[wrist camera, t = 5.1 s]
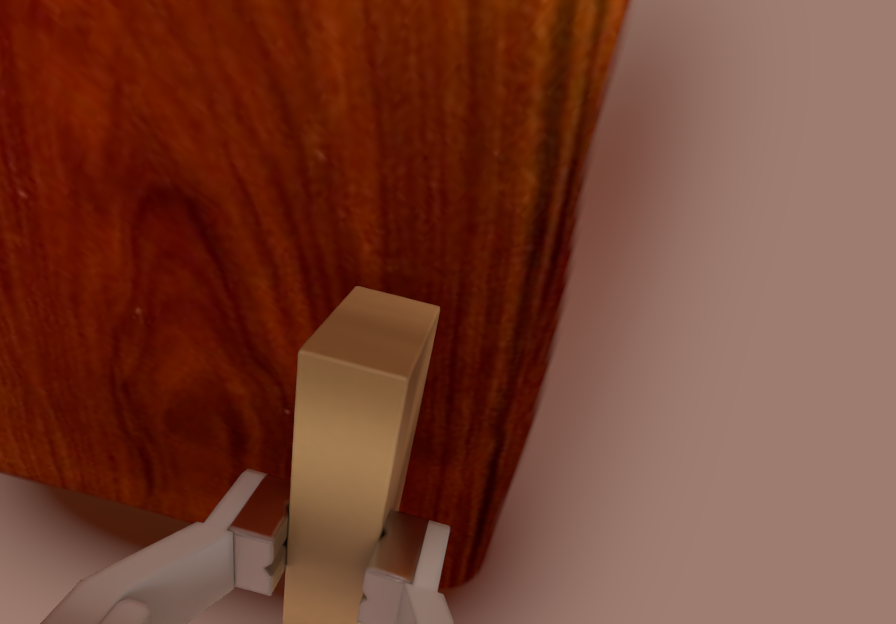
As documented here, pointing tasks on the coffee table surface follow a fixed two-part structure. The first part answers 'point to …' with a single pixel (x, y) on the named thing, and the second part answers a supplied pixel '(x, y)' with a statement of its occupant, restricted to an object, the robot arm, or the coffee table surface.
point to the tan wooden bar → (351, 446)
